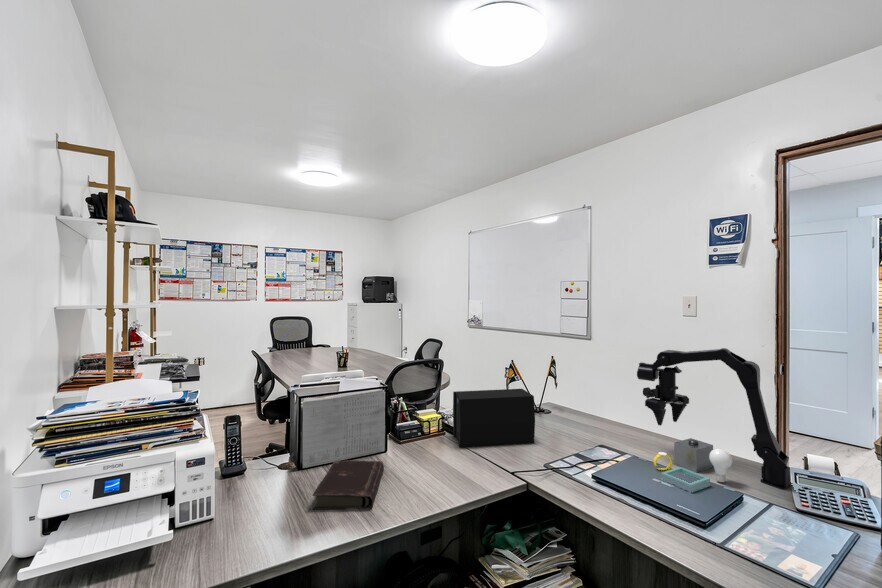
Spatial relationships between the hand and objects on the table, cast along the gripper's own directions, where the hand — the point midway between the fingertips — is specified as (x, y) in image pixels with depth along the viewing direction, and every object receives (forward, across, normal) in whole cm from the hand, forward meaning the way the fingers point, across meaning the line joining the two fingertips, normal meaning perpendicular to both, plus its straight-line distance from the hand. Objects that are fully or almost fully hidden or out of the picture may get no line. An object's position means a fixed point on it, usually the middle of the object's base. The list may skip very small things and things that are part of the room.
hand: (667, 423), depth 156 cm
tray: (+13, +16, +17) cm, 26 cm away
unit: (+13, 0, +10) cm, 16 cm away
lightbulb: (+13, +5, +22) cm, 26 cm away
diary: (+14, +116, -31) cm, 120 cm away
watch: (+13, +13, +7) cm, 19 cm away
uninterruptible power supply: (+13, +48, -46) cm, 68 cm away
